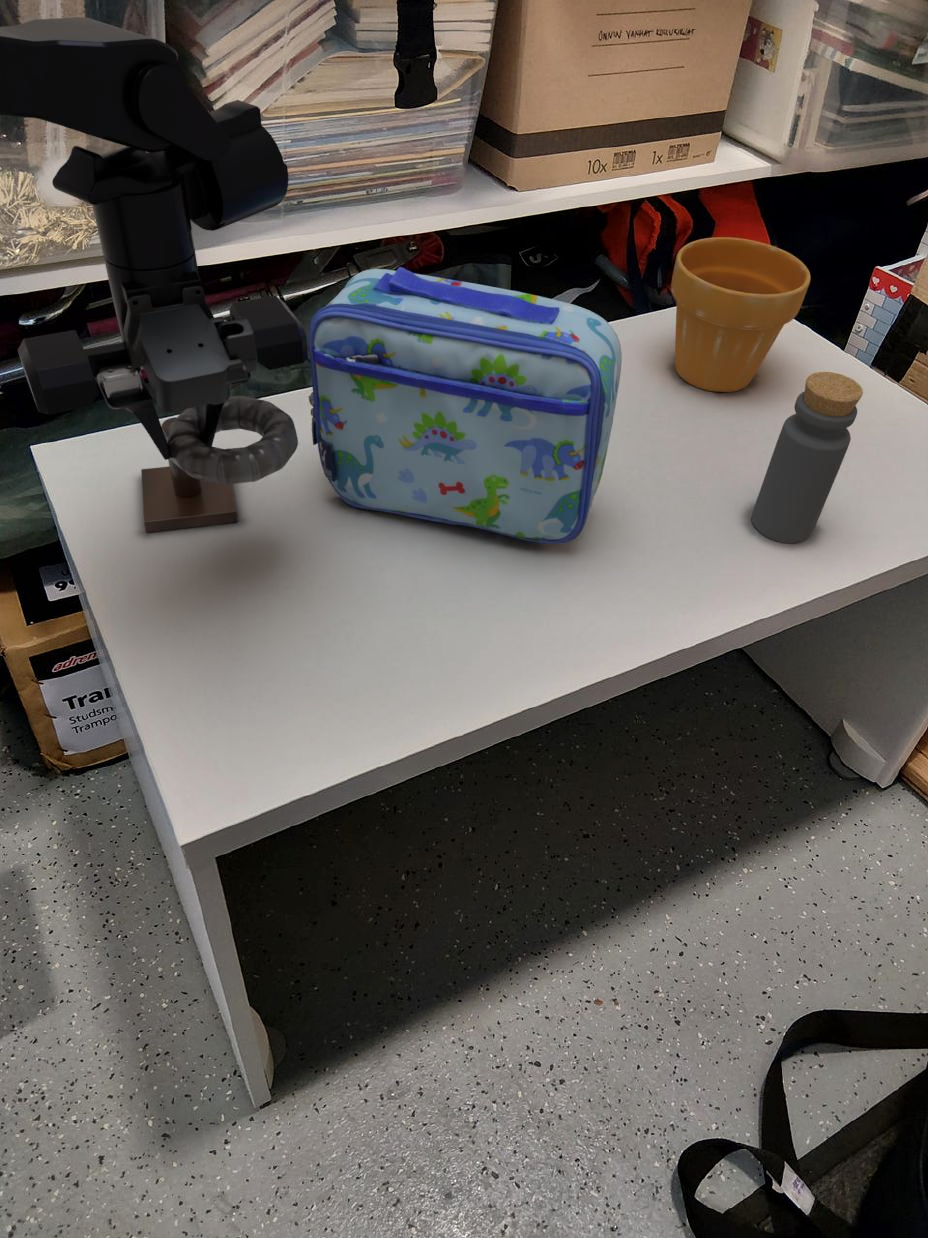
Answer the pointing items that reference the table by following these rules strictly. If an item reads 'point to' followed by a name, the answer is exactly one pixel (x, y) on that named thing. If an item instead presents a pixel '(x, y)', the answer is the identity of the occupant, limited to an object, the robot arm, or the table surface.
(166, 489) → the peg stand
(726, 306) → the flower pot
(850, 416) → the bottle
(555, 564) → the table surface
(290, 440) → the ring
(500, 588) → the table surface
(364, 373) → the lunch box
